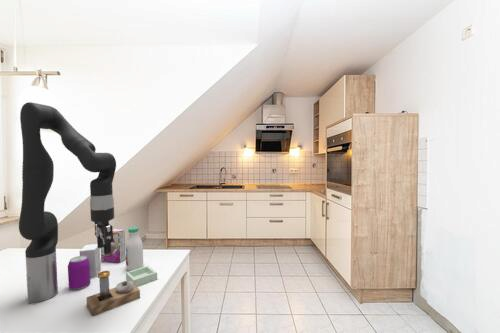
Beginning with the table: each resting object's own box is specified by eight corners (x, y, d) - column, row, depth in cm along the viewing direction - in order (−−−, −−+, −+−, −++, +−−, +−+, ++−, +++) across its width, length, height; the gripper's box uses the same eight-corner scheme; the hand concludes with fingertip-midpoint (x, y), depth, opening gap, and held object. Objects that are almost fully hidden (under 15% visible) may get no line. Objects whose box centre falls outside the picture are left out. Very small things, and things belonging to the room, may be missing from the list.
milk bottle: (146, 264, 128) (145, 225, 127) (138, 271, 120) (136, 230, 119) (131, 264, 129) (130, 225, 128) (122, 271, 121) (121, 230, 120)
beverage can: (68, 285, 108) (66, 258, 108) (89, 279, 113) (87, 253, 113) (69, 292, 103) (68, 263, 102) (91, 286, 107) (90, 258, 107)
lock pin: (100, 309, 91) (99, 276, 91) (98, 304, 94) (96, 273, 94) (112, 304, 94) (111, 273, 93) (109, 300, 97) (108, 269, 96)
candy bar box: (100, 262, 132) (99, 231, 131) (107, 258, 137) (105, 228, 136) (120, 263, 130) (118, 232, 129) (126, 259, 135) (125, 229, 134)
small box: (86, 271, 121) (85, 244, 121) (101, 269, 123) (100, 243, 123) (80, 279, 114) (79, 250, 113) (96, 277, 116) (95, 249, 115)
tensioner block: (92, 316, 87) (91, 299, 87) (86, 305, 94) (86, 289, 94) (140, 297, 98) (139, 283, 98) (131, 288, 105) (131, 275, 105)
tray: (133, 287, 106) (133, 280, 106) (125, 279, 113) (125, 272, 113) (157, 279, 113) (157, 272, 113) (148, 271, 120) (148, 265, 120)
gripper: (85, 206, 95) (87, 248, 96) (95, 211, 85) (97, 258, 86) (107, 203, 101) (109, 243, 101) (119, 208, 90) (121, 252, 91)
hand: (104, 250), depth 94 cm, fingers open, 8 cm apart
